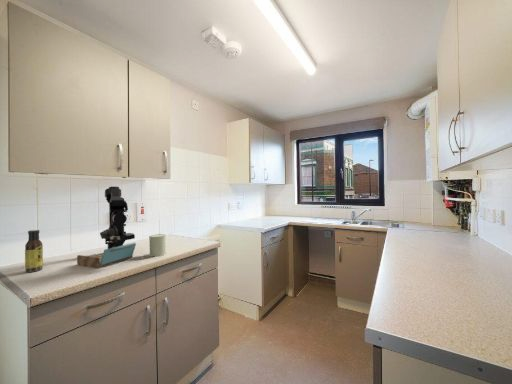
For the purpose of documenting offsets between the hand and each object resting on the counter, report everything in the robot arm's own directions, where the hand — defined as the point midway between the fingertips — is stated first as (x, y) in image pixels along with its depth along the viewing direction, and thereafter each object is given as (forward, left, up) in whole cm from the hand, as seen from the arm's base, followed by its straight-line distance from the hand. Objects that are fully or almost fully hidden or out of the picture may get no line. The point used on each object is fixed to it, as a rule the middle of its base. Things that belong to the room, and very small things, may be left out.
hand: (118, 251), depth 123 cm
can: (+7, +20, -6) cm, 22 cm away
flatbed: (-10, 0, -6) cm, 12 cm away
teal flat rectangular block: (-1, 0, -4) cm, 4 cm away
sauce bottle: (-29, -23, -6) cm, 37 cm away
